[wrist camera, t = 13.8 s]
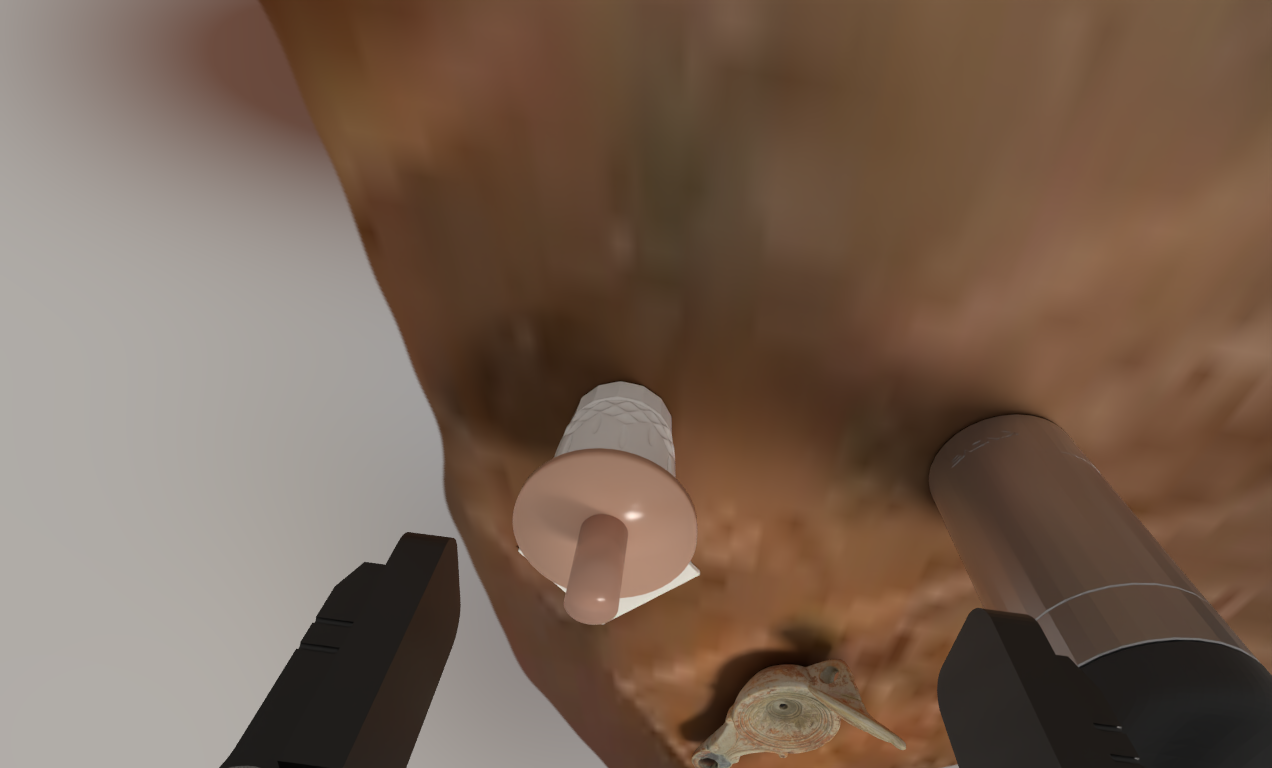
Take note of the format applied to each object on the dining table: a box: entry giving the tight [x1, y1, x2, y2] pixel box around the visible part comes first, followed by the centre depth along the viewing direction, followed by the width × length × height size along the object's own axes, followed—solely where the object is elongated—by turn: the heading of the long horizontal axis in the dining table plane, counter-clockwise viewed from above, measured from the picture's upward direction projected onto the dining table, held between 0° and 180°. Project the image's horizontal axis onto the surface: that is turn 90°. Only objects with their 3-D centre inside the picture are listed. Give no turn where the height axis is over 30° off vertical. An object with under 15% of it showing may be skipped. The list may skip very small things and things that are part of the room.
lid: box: [513, 448, 697, 625], centre depth 34 cm, size 10×10×6 cm
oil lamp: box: [692, 659, 906, 768], centre depth 53 cm, size 9×21×10 cm, turn 142°
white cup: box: [554, 381, 676, 478], centre depth 41 cm, size 8×8×10 cm
